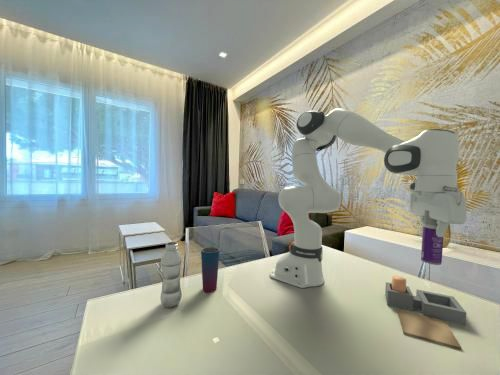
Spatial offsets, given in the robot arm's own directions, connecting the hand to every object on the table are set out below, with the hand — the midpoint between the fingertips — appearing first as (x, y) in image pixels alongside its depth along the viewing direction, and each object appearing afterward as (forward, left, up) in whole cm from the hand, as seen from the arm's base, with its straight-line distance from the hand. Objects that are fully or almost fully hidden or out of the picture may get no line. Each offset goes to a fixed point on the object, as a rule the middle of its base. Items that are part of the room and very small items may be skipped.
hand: (432, 233), depth 64 cm
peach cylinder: (-6, +10, -26) cm, 29 cm away
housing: (0, +10, -27) cm, 29 cm away
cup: (-68, -14, -27) cm, 75 cm away
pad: (-1, -2, -27) cm, 27 cm away
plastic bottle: (-73, -28, -27) cm, 83 cm away
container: (0, 0, -9) cm, 8 cm away
